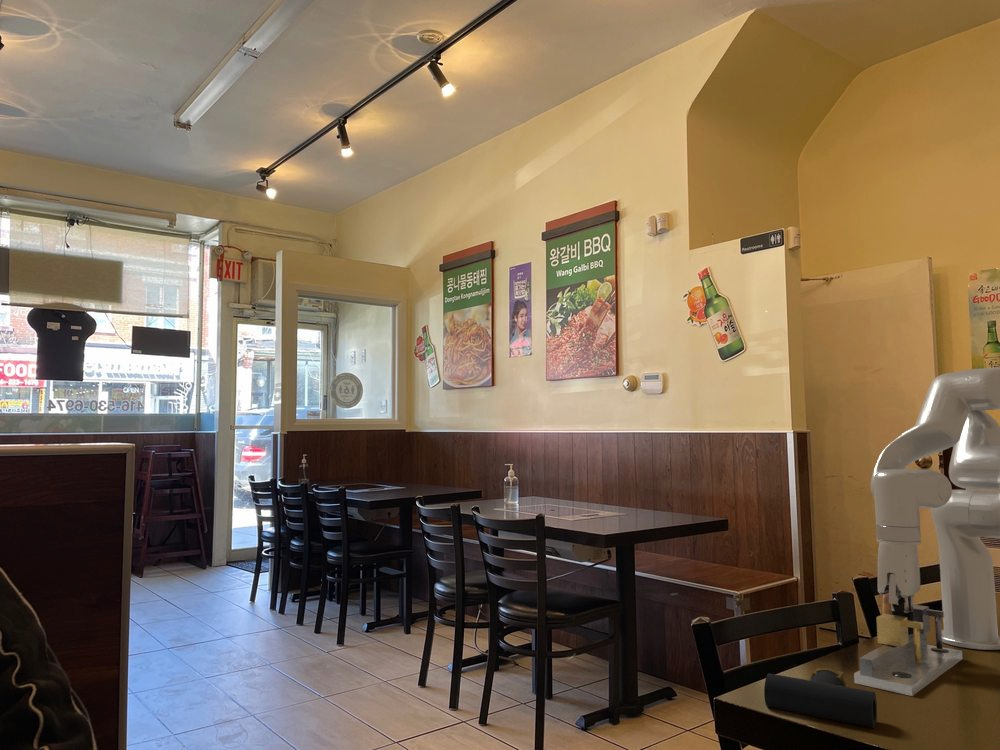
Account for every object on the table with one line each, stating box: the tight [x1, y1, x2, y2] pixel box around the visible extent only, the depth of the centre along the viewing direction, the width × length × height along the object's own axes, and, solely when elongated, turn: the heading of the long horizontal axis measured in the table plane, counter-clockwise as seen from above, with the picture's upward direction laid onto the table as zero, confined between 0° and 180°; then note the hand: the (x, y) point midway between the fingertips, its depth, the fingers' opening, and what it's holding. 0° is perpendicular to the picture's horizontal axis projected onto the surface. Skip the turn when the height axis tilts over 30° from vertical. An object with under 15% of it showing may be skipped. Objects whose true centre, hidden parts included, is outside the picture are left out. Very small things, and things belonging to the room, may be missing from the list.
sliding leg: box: [876, 614, 923, 663], centre depth 130 cm, size 4×7×7 cm, turn 44°
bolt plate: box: [853, 633, 964, 697], centre depth 130 cm, size 30×9×4 cm, turn 134°
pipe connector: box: [763, 667, 878, 729], centre depth 111 cm, size 12×5×15 cm
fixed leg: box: [910, 604, 944, 649], centre depth 139 cm, size 4×7×7 cm, turn 44°
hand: (903, 632), depth 135 cm, fingers closed
